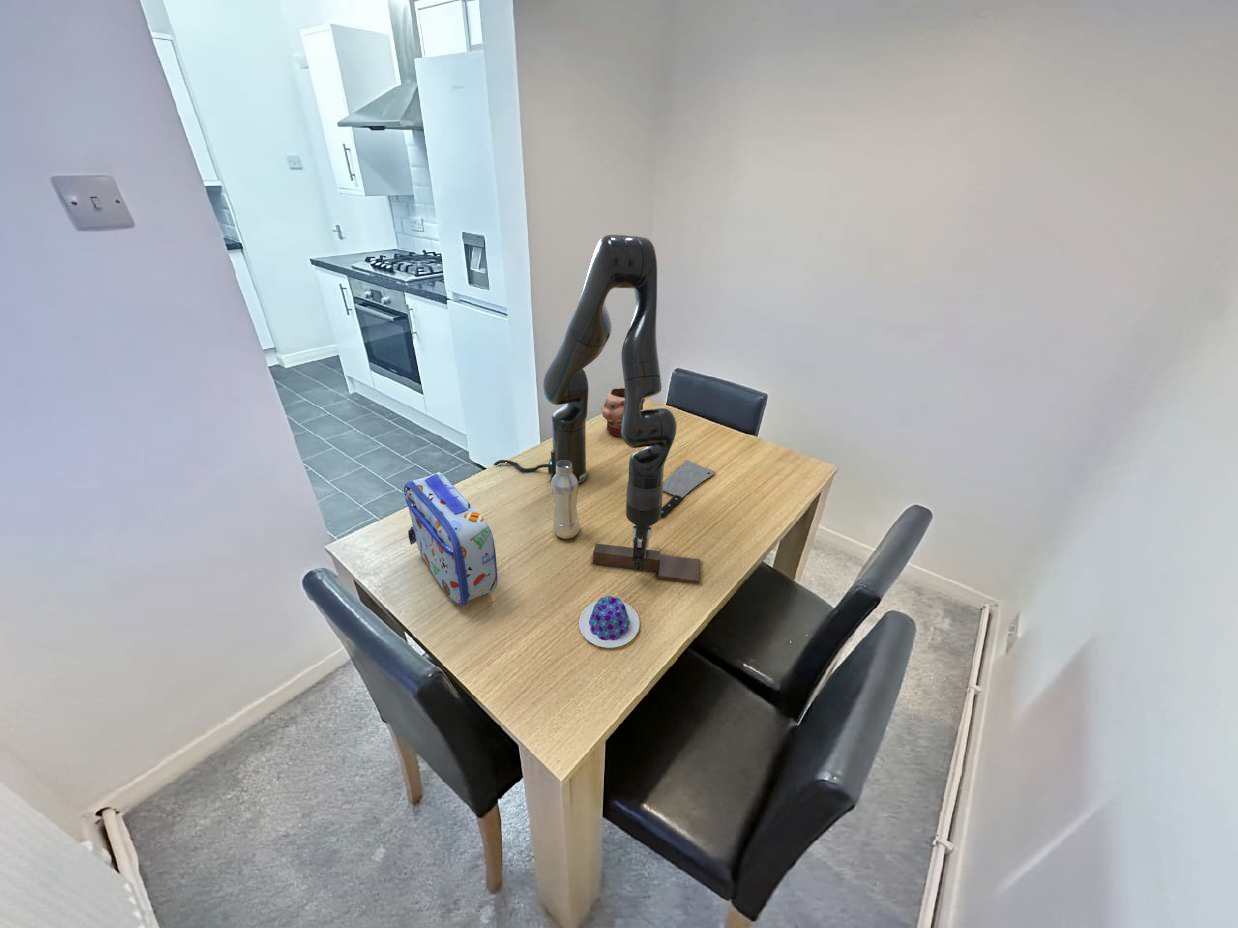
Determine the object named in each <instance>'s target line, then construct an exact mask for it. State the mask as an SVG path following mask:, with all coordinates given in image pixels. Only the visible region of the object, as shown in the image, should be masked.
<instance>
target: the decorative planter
mask: <svg viewBox="0 0 1238 928" xmlns="http://www.w3.org/2000/svg"><path fill="white" fill-rule="evenodd" d="M645 400H646V398H645V399H643V400H642V402H641V405H640V410H644V403H645ZM624 401H625V387H618V388H612V389H611V390H610V391H609V392H608V393H607V395H606V399H605V401H604V403H603V404H602V405H601V407H600V408H601V409H600V410H601V415H602V417H603V418H604V419H605V420H606V430H607V432H608V433H609V434H610V435H612V436H616V437H620V438H622V434H621V423H622V417H623V411H624Z"/></svg>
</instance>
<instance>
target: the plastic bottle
mask: <svg viewBox="0 0 1238 928" xmlns="http://www.w3.org/2000/svg"><path fill="white" fill-rule="evenodd" d="M572 471H573V469H572V463H571V462H570V461H567V460H561V461H558V462H557V463H556V474H555V475H554V477H553V478H552V477H551V481H550V488H551V493H552V497H553V506H554V512H553V515H554V517H553V519H552V520H553V521H552V522H553V523H552V529H553V532H554V534H555V535H556V536H557V537H558V538H561V539H564V540H565V539H566V540H569V539H572V538H575V536H576V535H577V534H578V533H579V531H580V525H581V524H580V519H579V516H578V508H577V502H578V490H579V484H578V480H577V478H576V477H575V475H574V474H573V473H572Z"/></svg>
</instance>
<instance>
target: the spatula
mask: <svg viewBox="0 0 1238 928" xmlns="http://www.w3.org/2000/svg"><path fill="white" fill-rule="evenodd" d="M645 556H646V558H645V563H644V571H647V572H654V573H657V579H661V580H667V581H668V580H669V581H678V582H686V583H692V584H699V583H700V559H699V558H690V557H682V556H675V555H668V554H667V555H665V554H661V550H653V549H646V554H645ZM632 558H633V547H628V546H620V545H612V544H603V543H595V544H594V548H593V551H592V564H593V565H597V566H598V565H599V566H606V567H607V566H608V567H616V568H623V569H624V568H625V569H631V570H634V562H633V560H632Z"/></svg>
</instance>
